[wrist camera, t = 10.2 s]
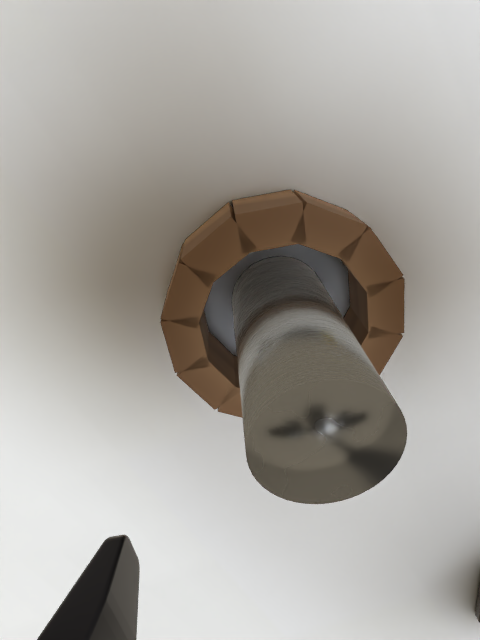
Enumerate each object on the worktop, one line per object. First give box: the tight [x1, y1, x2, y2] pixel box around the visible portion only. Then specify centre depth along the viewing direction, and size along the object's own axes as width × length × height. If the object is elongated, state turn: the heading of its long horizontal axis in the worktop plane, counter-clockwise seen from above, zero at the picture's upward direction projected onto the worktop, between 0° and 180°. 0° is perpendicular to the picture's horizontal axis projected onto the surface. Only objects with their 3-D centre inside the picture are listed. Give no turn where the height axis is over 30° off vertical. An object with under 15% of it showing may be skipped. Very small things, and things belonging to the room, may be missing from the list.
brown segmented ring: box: [161, 190, 404, 418], centre depth 17 cm, size 9×9×2 cm
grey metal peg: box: [232, 256, 407, 504], centre depth 14 cm, size 4×4×9 cm
